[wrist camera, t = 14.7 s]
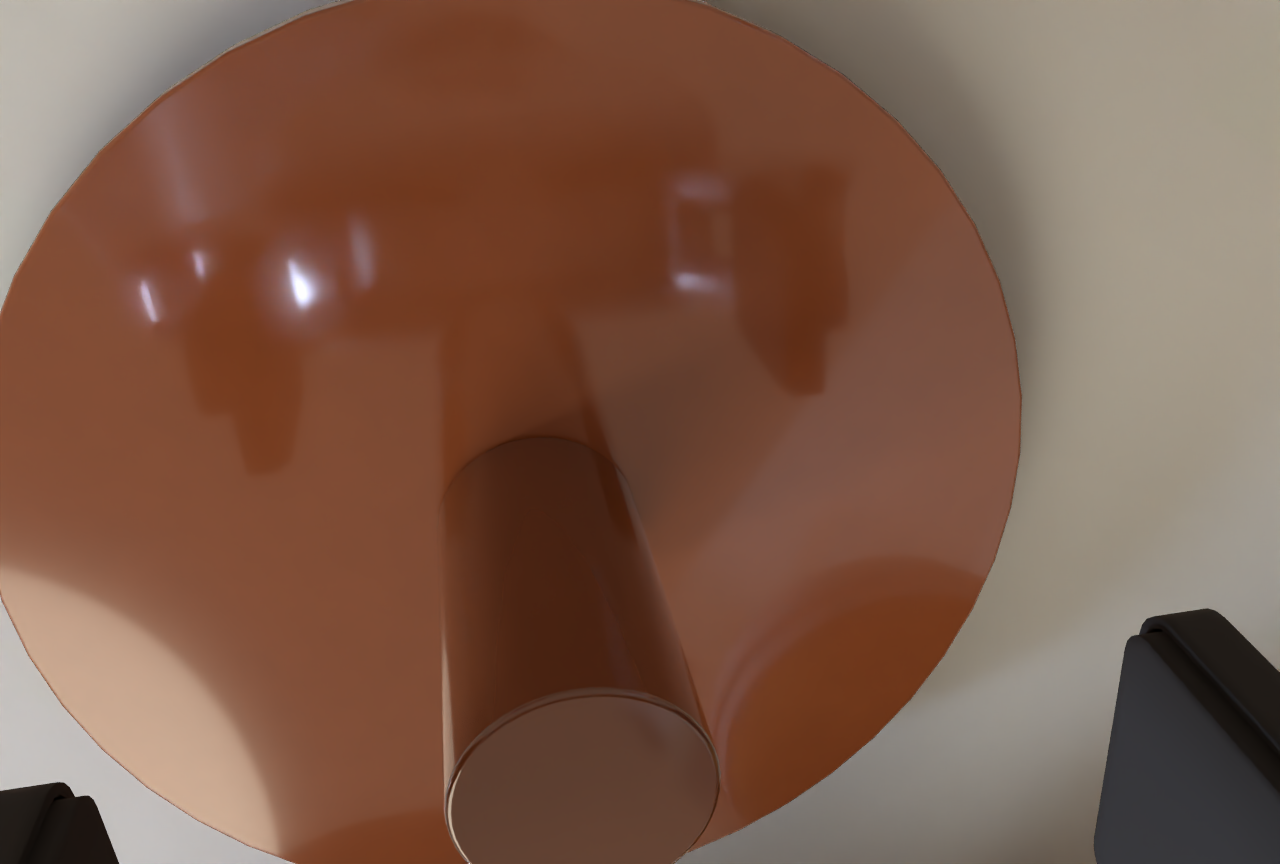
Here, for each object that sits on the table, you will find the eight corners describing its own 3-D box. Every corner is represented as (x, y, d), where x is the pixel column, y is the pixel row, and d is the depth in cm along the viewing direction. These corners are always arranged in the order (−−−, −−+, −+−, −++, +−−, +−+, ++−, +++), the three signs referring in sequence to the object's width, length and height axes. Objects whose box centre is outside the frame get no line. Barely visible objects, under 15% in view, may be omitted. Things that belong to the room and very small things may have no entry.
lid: (157, 904, 18) (50, 1342, 13) (-173, 22, 12) (-638, 165, 7) (958, 763, 20) (1156, 1100, 15) (1029, -82, 14) (1416, -33, 8)
